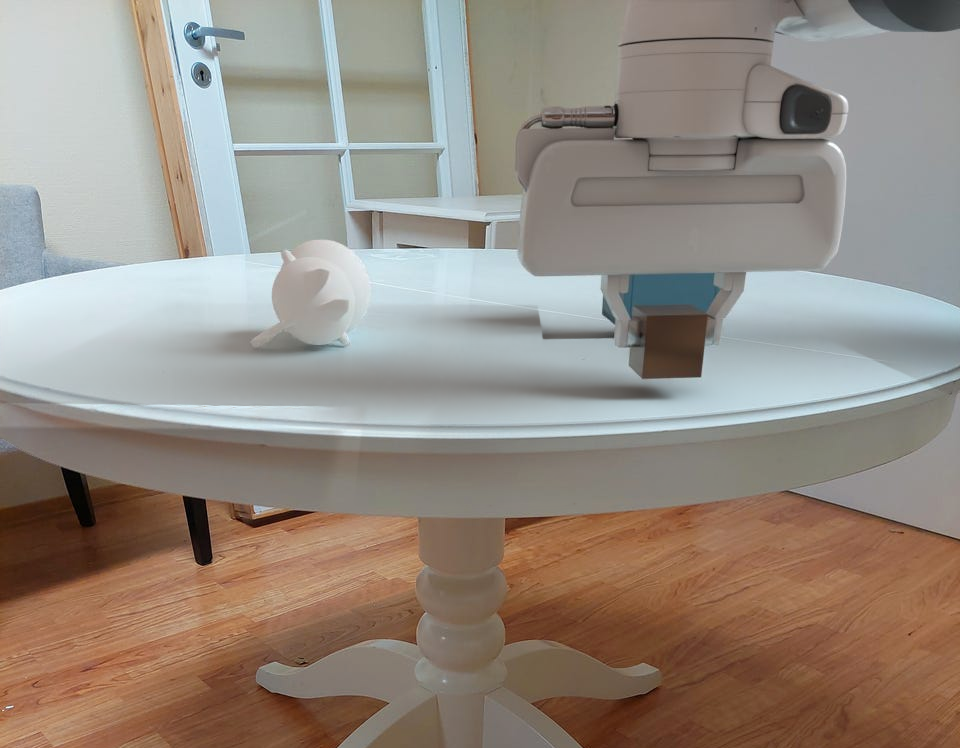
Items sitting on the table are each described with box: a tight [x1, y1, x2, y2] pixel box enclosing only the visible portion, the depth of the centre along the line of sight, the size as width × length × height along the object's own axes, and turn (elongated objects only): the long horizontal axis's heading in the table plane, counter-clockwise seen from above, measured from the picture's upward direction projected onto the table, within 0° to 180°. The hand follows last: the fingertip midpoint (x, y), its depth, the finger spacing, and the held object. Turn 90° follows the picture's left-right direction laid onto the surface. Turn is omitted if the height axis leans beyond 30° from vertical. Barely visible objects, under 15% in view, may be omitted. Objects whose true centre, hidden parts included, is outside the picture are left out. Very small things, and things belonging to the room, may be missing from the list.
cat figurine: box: [250, 238, 372, 349], centre depth 75 cm, size 9×11×12 cm
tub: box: [601, 273, 720, 326], centre depth 82 cm, size 12×9×11 cm
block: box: [628, 304, 708, 380], centre depth 59 cm, size 4×4×4 cm
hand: (666, 345), depth 59 cm, fingers closed on block, 4 cm apart
